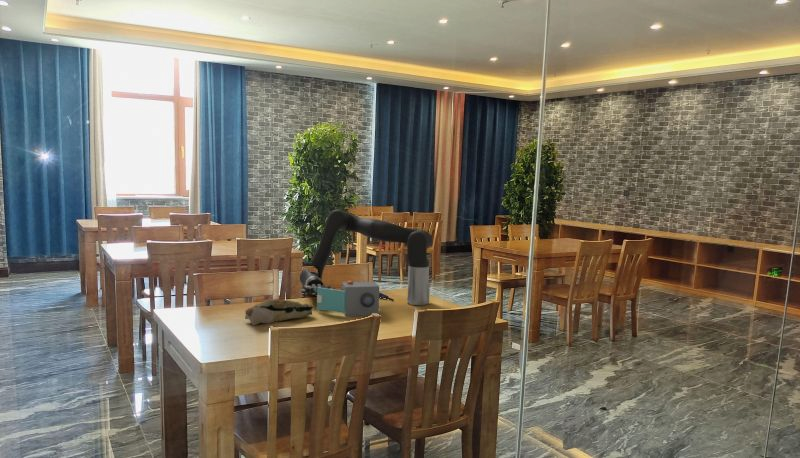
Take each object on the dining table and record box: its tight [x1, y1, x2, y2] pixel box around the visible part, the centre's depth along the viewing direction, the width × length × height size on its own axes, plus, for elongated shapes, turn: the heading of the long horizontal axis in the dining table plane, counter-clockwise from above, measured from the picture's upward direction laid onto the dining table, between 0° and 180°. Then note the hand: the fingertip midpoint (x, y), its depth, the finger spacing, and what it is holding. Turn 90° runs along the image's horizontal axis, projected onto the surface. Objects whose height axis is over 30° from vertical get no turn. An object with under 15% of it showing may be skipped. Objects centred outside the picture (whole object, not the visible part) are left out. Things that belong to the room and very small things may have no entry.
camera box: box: [341, 280, 380, 317], centre depth 229 cm, size 14×12×13 cm
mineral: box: [244, 298, 314, 326], centre depth 215 cm, size 26×9×10 cm
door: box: [316, 287, 345, 314], centre depth 225 cm, size 2×13×9 cm, turn 65°
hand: (318, 293), depth 232 cm, fingers closed
